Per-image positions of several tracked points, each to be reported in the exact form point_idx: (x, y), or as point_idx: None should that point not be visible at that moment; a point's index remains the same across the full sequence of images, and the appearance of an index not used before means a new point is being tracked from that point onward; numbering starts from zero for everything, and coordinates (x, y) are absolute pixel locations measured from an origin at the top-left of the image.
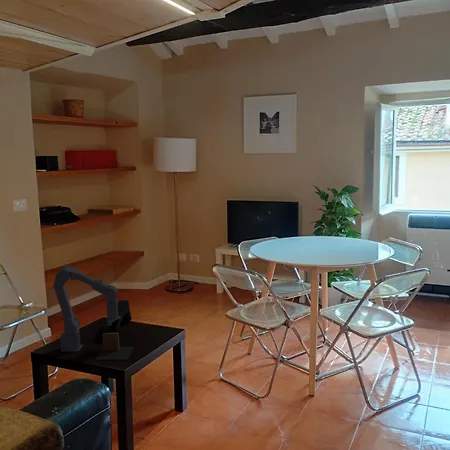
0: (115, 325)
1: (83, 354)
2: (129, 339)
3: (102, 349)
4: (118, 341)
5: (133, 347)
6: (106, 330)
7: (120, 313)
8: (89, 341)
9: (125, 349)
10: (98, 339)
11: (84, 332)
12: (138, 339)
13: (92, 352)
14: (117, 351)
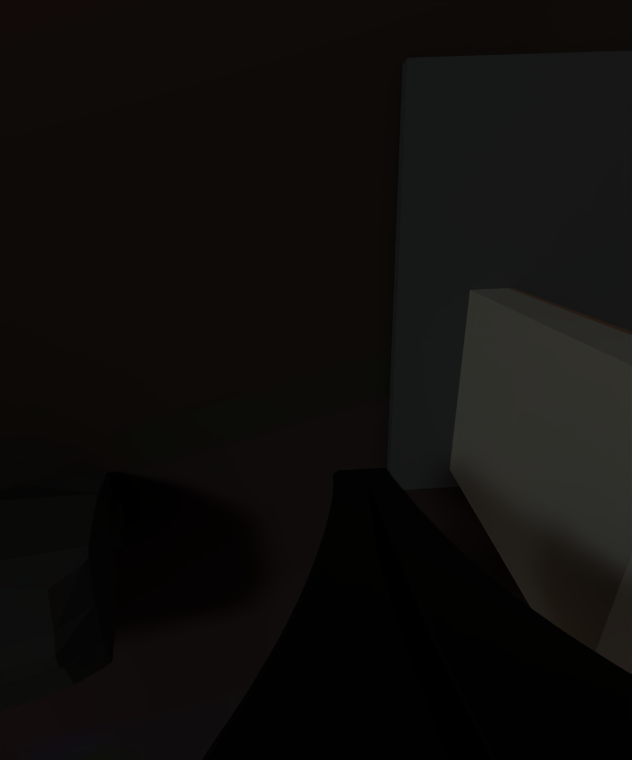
0: (613, 680)
1: (516, 595)
2: (66, 248)
3: (454, 483)
4: (575, 321)
5: (427, 59)
6: (103, 630)
7: None
8: (219, 641)
9: (494, 190)
10: (156, 593)
11: (24, 729)
12: (21, 77)
13: (483, 545)
14: (545, 293)
